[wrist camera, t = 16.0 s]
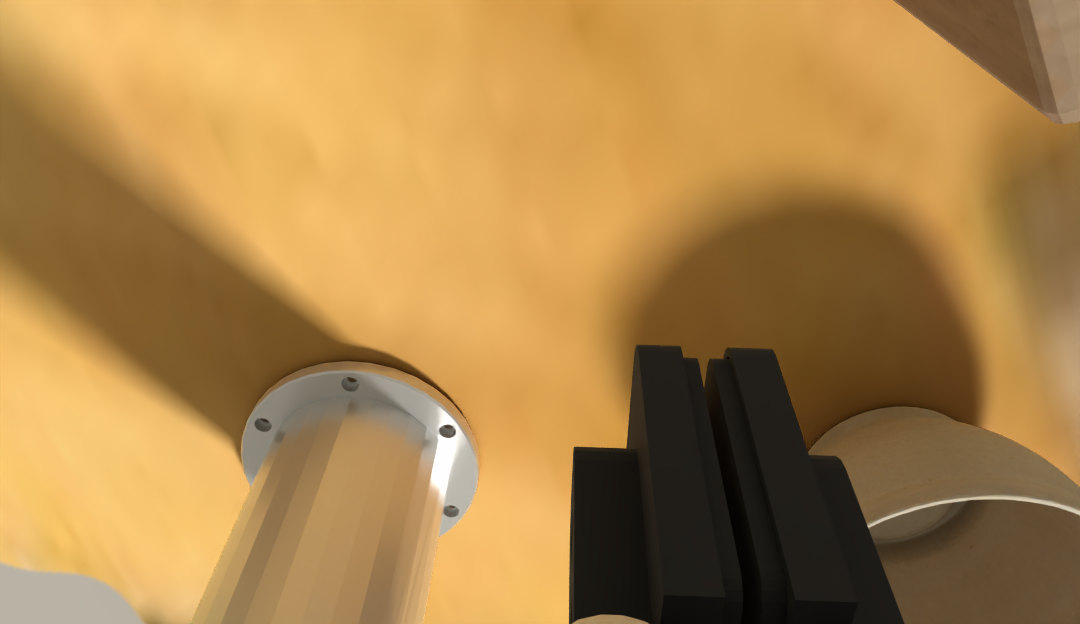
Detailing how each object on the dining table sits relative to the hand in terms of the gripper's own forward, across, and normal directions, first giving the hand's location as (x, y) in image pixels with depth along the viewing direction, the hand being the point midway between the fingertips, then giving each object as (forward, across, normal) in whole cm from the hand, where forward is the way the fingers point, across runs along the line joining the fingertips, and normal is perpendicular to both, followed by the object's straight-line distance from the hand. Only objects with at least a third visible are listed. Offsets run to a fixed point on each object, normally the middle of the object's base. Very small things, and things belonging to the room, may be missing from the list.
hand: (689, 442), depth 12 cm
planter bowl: (+29, -16, +25) cm, 42 cm away
